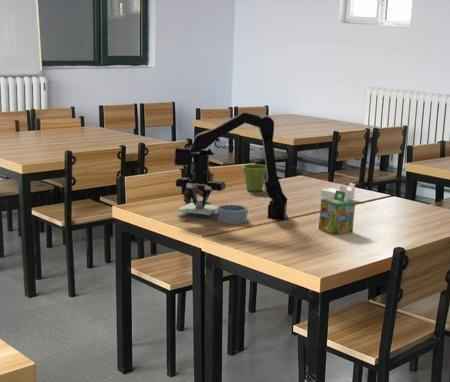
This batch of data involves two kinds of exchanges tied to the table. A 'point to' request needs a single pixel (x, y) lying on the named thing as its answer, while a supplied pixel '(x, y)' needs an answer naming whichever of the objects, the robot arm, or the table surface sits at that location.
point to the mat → (198, 216)
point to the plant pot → (254, 176)
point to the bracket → (348, 191)
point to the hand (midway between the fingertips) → (199, 205)
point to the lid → (199, 208)
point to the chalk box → (337, 214)
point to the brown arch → (188, 197)
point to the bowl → (232, 214)
